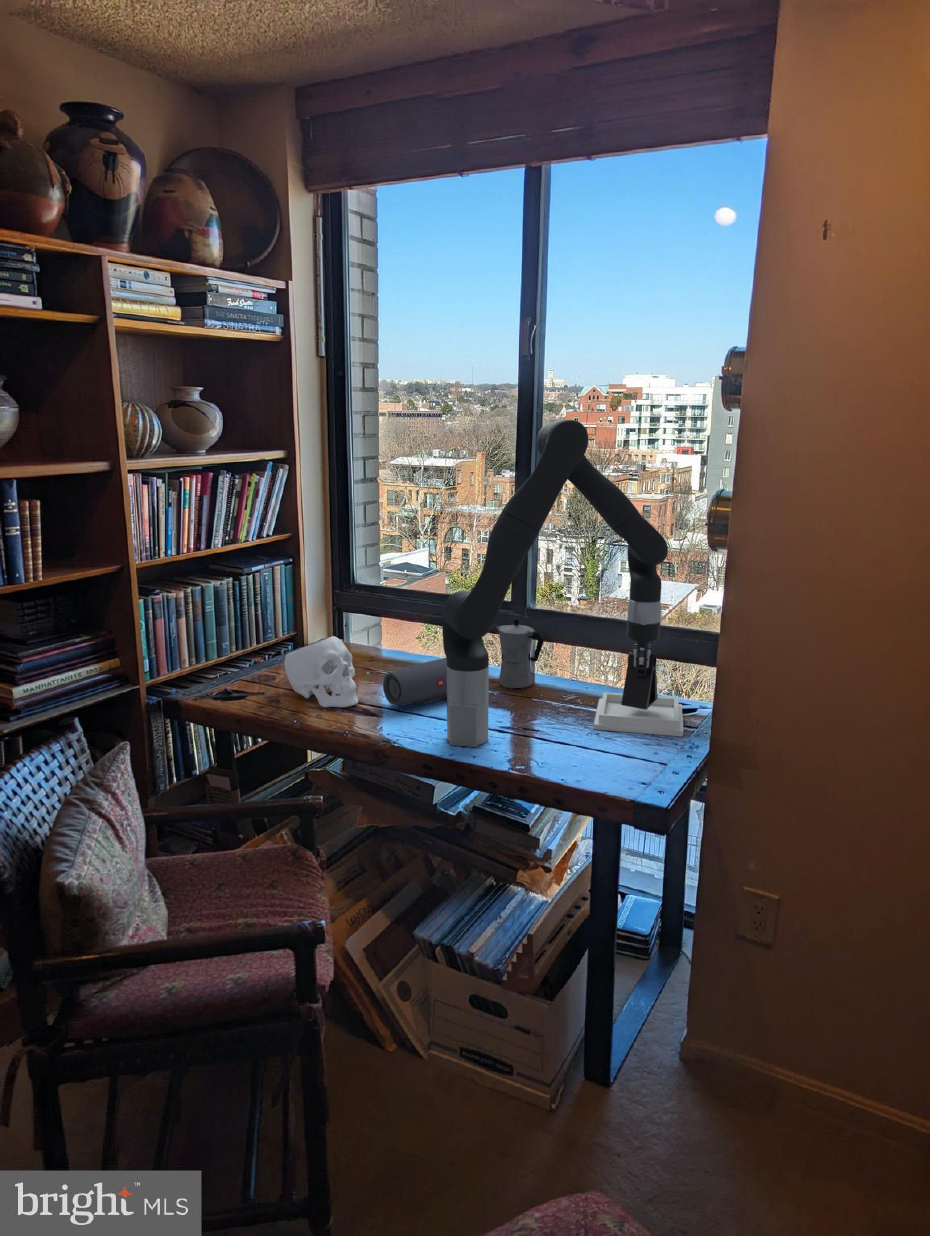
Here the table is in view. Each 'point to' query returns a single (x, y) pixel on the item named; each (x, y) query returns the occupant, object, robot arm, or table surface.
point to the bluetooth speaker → (417, 683)
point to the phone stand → (640, 685)
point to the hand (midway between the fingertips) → (640, 689)
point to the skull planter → (323, 672)
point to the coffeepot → (517, 654)
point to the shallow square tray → (639, 716)
